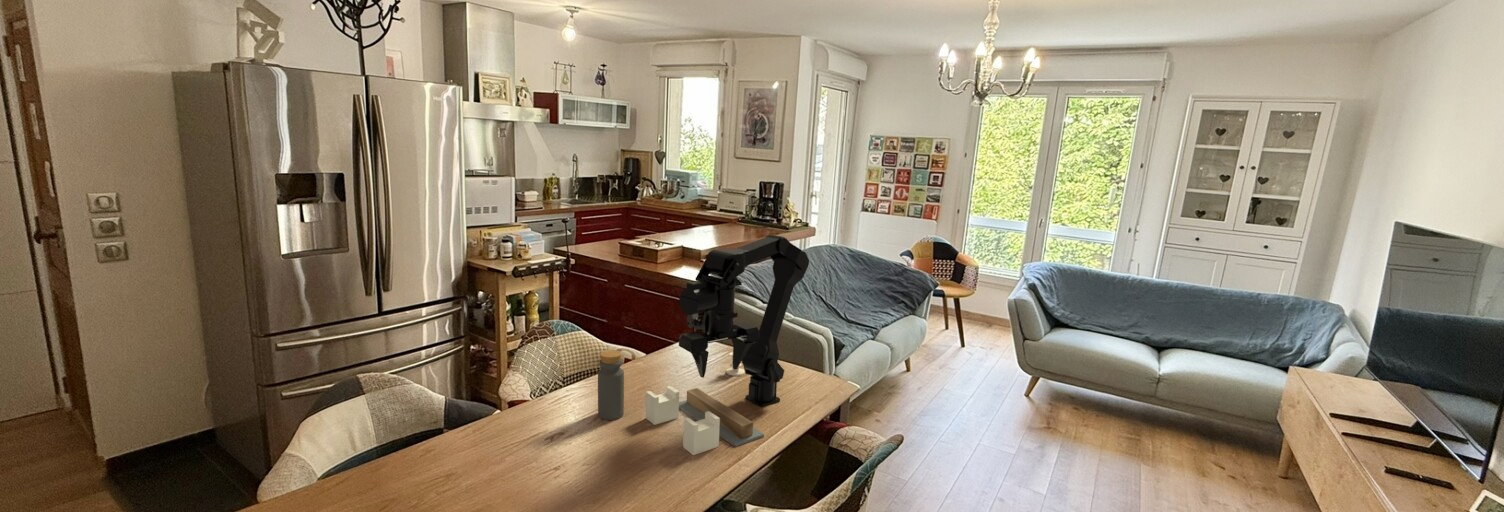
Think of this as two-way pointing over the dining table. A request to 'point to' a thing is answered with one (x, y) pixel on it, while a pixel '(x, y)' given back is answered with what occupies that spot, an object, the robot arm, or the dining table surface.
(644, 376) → the dining table surface
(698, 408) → the rail
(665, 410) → the post
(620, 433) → the dining table surface
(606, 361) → the bottle
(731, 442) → the mat
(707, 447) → the post
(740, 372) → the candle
